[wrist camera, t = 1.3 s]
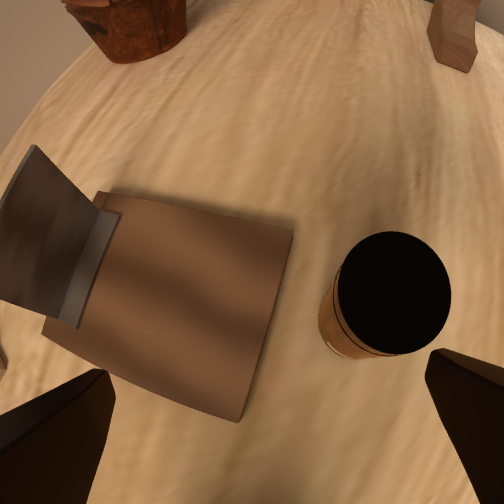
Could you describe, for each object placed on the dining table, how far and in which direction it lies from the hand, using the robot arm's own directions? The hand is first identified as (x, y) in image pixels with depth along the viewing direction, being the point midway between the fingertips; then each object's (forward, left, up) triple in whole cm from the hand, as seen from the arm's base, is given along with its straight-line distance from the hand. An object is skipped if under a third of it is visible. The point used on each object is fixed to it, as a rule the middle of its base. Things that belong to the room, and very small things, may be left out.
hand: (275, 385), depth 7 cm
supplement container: (+5, -4, -14) cm, 16 cm away
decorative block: (+47, -15, -14) cm, 51 cm away
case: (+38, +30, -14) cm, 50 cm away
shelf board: (+3, +11, -14) cm, 18 cm away
